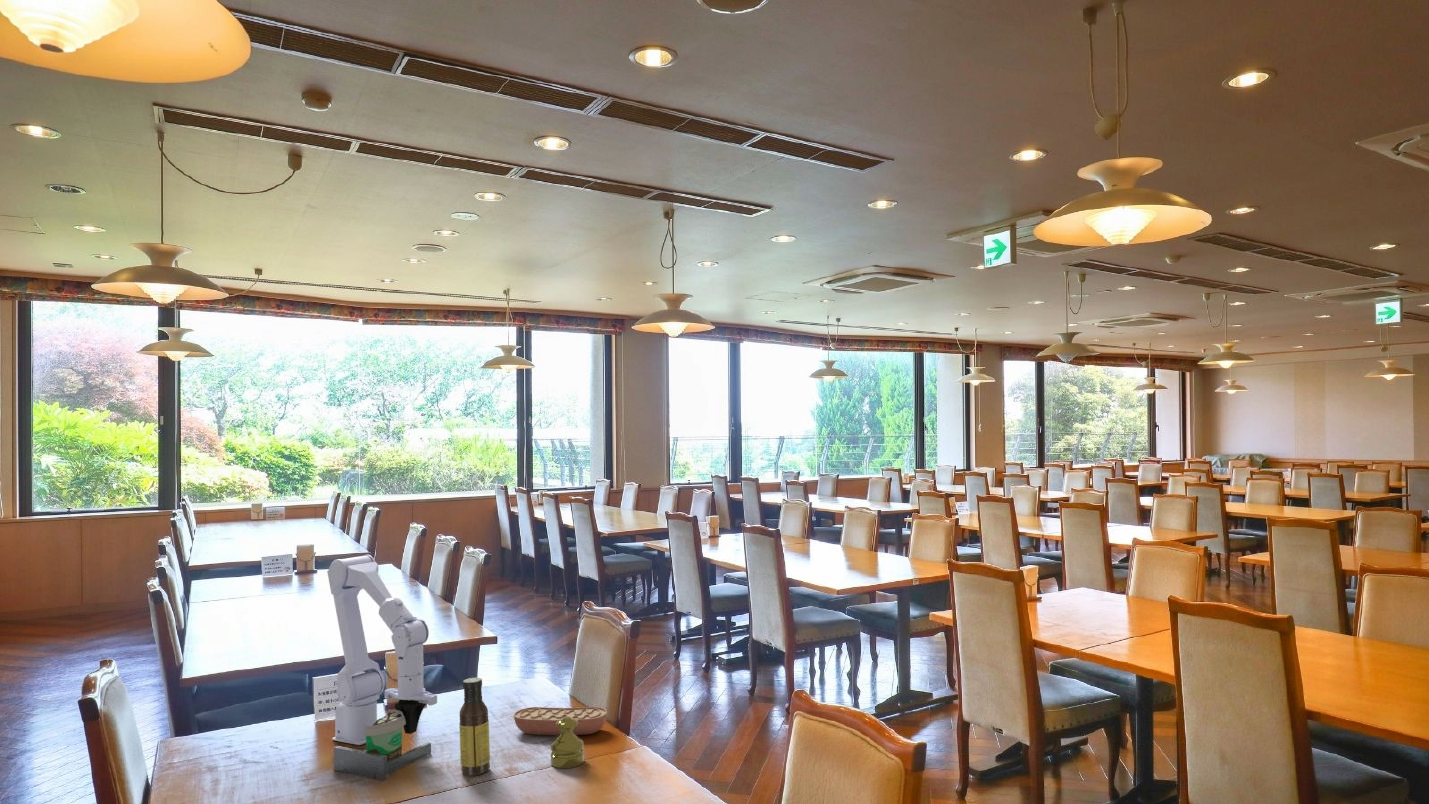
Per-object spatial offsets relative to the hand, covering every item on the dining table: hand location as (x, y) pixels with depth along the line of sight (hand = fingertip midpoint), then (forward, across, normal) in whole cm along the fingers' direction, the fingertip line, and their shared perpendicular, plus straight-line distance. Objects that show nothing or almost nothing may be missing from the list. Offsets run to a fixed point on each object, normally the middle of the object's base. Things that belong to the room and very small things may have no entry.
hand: (410, 732), depth 199 cm
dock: (+4, 0, +7) cm, 8 cm away
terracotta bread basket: (+5, -25, -24) cm, 35 cm away
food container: (+5, -1, +7) cm, 8 cm away
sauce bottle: (+5, -22, +3) cm, 23 cm away
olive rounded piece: (+5, -38, -9) cm, 39 cm away
